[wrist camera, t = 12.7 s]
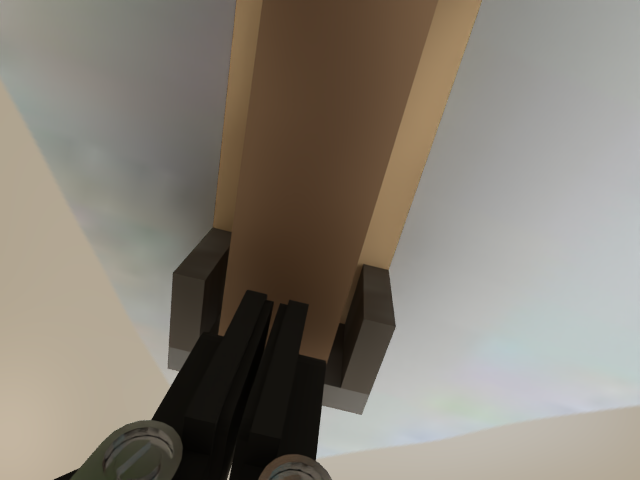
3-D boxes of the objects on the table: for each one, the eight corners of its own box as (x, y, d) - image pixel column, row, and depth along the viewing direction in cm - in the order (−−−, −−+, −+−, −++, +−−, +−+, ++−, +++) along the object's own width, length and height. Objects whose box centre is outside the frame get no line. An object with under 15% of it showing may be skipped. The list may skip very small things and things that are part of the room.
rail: (567, -274, 9) (725, -530, 5) (356, 349, 18) (354, 433, 14) (284, -345, 9) (225, -657, 5) (210, 314, 18) (166, 388, 14)
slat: (459, -140, 10) (516, -255, 6) (332, 303, 16) (323, 375, 12) (325, -174, 10) (303, -311, 6) (249, 283, 16) (216, 349, 12)
